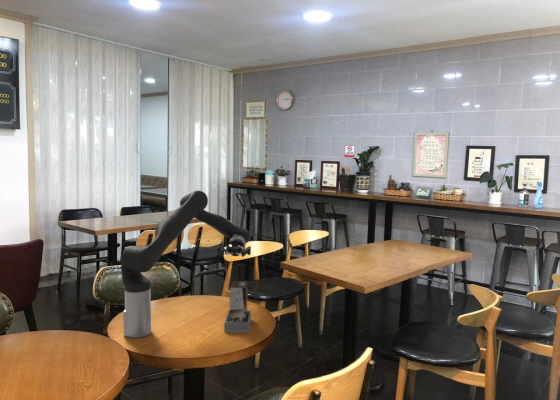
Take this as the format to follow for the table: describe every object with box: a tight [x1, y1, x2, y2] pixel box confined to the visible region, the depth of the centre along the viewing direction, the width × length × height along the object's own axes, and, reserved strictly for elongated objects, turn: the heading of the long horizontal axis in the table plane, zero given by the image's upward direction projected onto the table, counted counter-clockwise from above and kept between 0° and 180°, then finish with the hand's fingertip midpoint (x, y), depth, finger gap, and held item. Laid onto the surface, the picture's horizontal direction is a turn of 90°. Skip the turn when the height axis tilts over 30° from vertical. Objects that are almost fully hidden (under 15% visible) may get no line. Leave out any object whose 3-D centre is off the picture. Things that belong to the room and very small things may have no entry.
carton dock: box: [223, 309, 252, 334], centre depth 174 cm, size 10×13×4 cm
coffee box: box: [229, 280, 248, 322], centre depth 173 cm, size 9×6×16 cm
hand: (232, 254), depth 181 cm, fingers open, 8 cm apart
